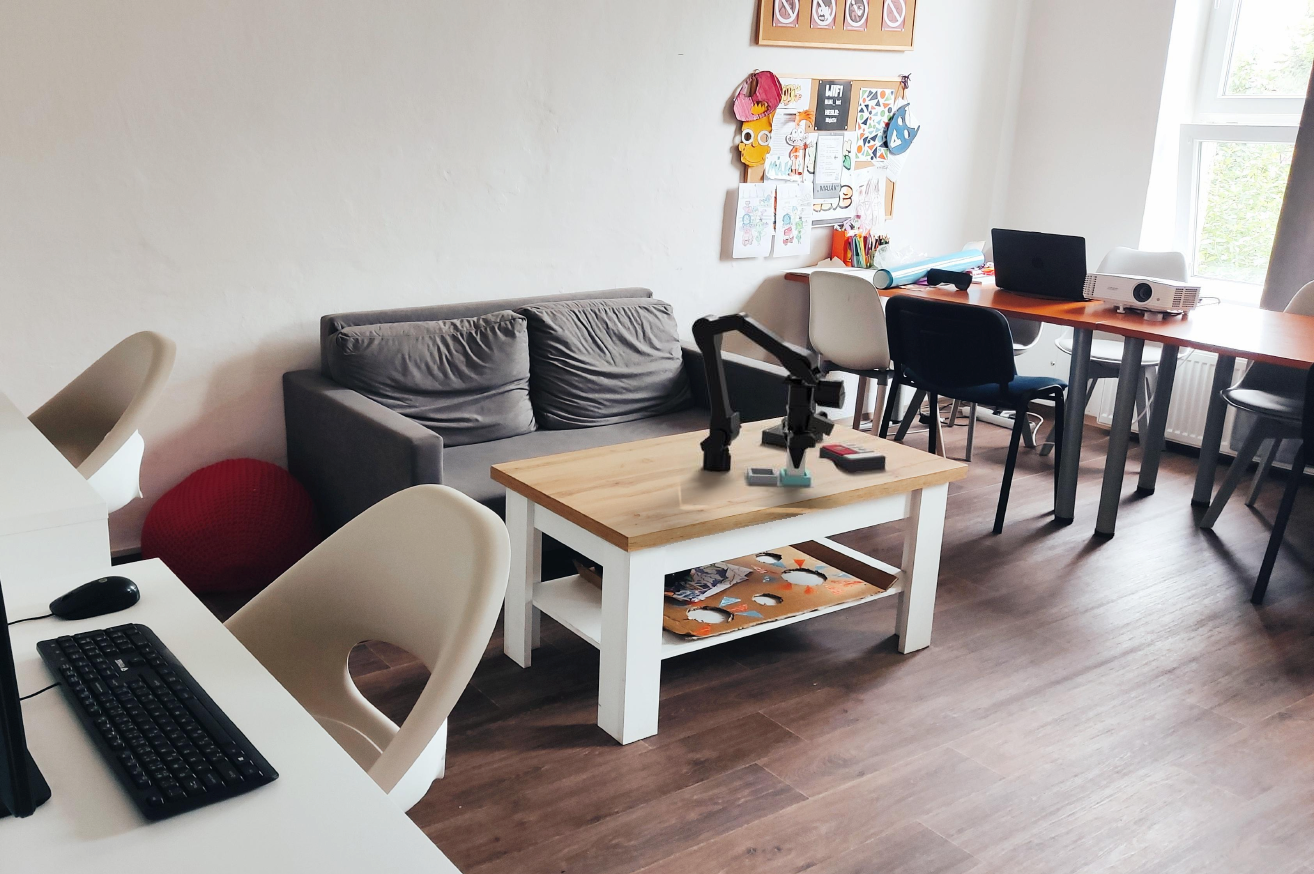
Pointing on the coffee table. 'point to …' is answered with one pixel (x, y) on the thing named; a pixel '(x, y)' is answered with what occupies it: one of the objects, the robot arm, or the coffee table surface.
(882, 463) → the calculator
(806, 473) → the compartment tray
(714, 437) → the robot arm
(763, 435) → the black antenna base
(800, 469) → the plug
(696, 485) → the coffee table surface
